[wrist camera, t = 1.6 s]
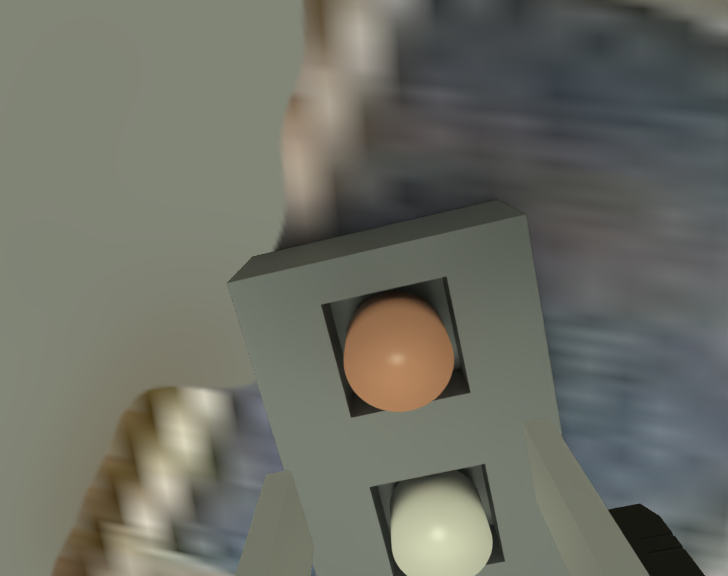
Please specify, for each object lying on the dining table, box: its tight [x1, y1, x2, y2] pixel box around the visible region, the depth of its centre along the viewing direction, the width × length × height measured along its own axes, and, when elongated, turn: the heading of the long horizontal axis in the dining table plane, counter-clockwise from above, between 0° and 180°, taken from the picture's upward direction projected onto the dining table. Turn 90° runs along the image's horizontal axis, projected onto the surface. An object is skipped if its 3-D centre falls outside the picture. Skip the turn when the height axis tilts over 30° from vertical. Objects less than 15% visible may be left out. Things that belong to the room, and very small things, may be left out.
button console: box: [227, 200, 570, 576], centre depth 33 cm, size 14×30×6 cm, turn 13°
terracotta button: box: [344, 291, 454, 412], centre depth 27 cm, size 5×5×3 cm
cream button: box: [390, 470, 493, 576], centre depth 30 cm, size 5×5×3 cm
